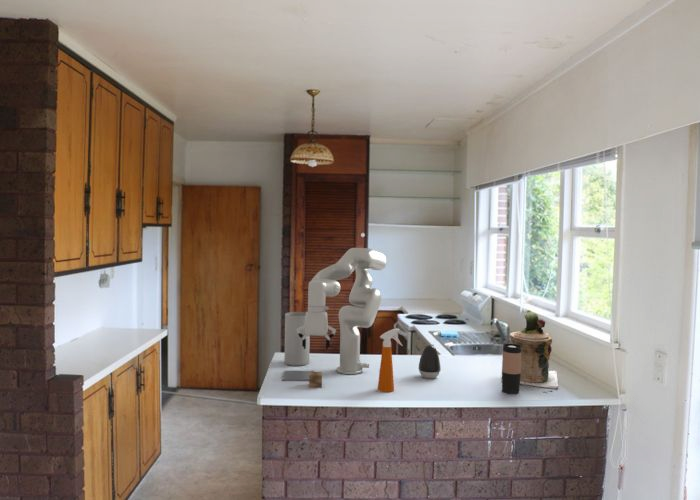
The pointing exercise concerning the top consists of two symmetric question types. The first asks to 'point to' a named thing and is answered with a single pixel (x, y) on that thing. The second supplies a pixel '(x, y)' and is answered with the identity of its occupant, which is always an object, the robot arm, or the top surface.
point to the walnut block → (315, 379)
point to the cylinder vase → (295, 340)
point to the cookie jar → (535, 353)
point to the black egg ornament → (429, 362)
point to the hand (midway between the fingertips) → (315, 348)
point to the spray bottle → (387, 362)
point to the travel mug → (511, 368)
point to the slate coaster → (296, 375)
